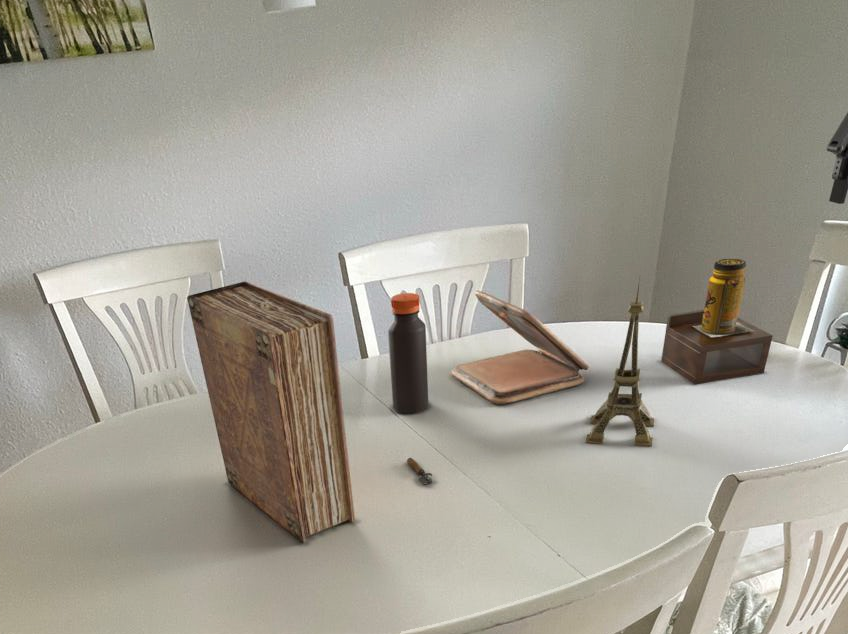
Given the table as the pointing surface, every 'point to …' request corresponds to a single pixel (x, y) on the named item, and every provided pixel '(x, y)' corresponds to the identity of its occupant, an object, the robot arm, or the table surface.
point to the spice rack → (713, 350)
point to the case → (522, 360)
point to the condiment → (724, 299)
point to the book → (276, 404)
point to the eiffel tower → (625, 402)
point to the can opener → (419, 471)
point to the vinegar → (408, 355)
